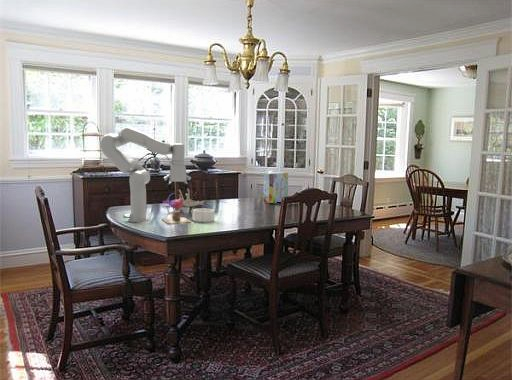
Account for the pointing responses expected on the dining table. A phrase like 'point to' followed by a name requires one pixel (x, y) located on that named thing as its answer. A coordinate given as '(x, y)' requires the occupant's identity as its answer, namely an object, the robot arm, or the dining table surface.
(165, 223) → the grey mat
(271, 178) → the snack box
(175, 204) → the heart model
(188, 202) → the jawbone
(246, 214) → the dining table surface
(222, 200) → the dining table surface
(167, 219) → the birch lid
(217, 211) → the dining table surface
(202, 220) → the ceramic bowl
